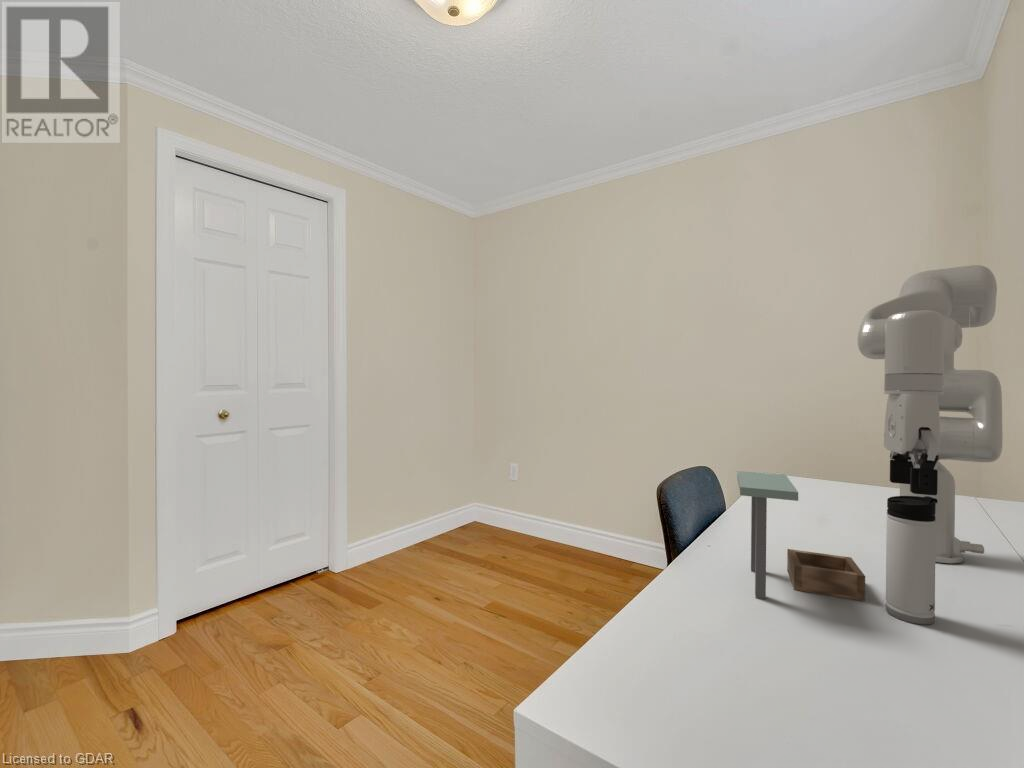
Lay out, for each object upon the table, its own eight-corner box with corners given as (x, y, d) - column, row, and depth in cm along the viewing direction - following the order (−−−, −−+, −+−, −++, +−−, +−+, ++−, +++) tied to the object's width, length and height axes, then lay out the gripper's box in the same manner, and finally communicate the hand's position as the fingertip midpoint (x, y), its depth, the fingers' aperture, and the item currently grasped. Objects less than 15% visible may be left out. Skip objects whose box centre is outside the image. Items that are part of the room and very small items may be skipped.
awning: (784, 571, 96) (785, 474, 96) (797, 607, 80) (798, 492, 80) (736, 564, 99) (737, 471, 99) (739, 597, 84) (740, 487, 84)
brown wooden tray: (850, 580, 92) (851, 557, 92) (865, 601, 83) (865, 576, 83) (787, 570, 96) (787, 548, 96) (794, 589, 87) (794, 565, 87)
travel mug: (947, 627, 74) (948, 502, 74) (899, 623, 75) (900, 500, 75) (921, 609, 80) (922, 493, 80) (877, 605, 82) (878, 491, 82)
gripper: (870, 386, 87) (869, 477, 87) (903, 384, 71) (902, 496, 71) (921, 387, 84) (920, 481, 84) (967, 385, 68) (966, 502, 68)
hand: (911, 488), depth 77 cm, fingers open, 9 cm apart
